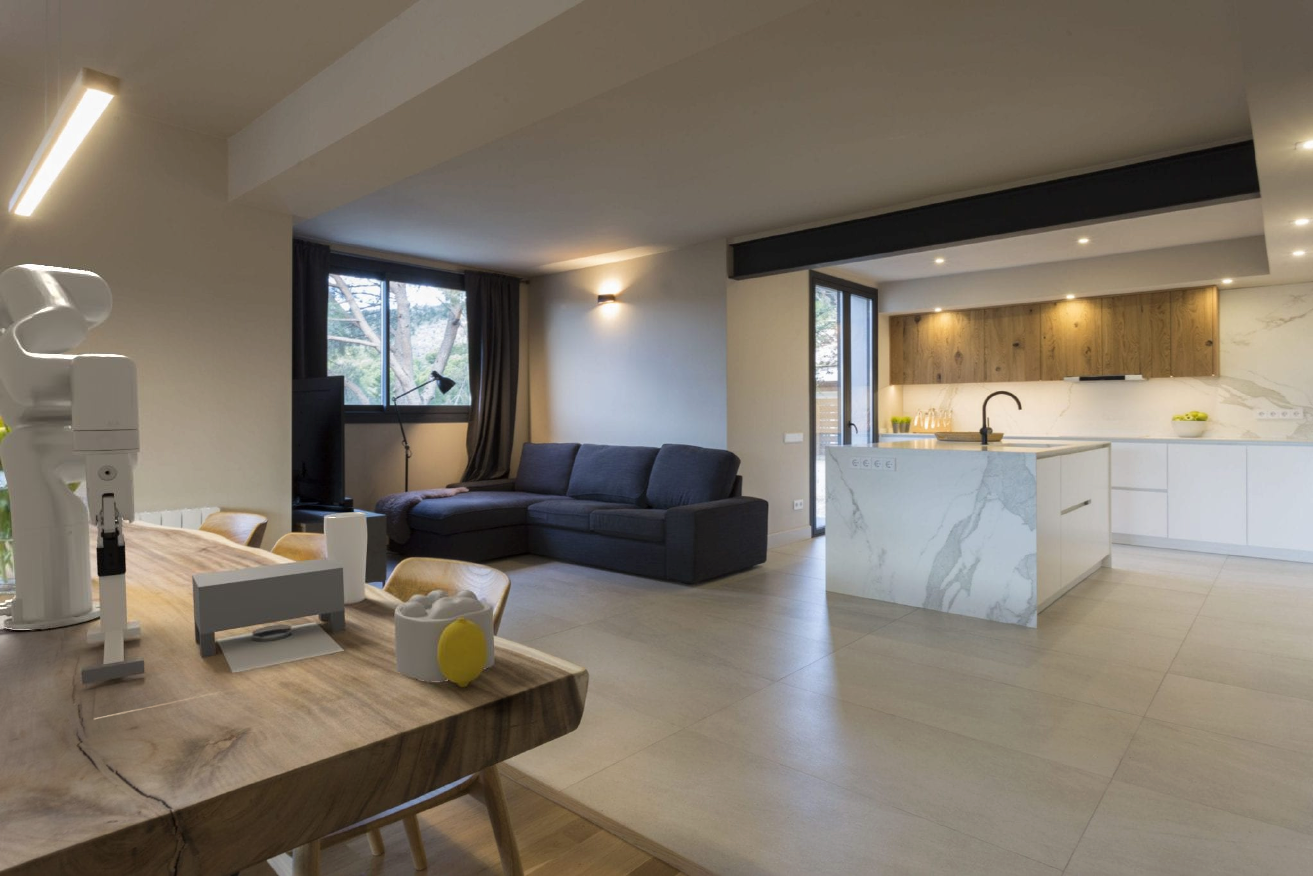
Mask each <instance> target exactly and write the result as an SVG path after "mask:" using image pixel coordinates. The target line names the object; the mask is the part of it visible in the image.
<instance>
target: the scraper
mask: <svg viewBox="0 0 1313 876" xmlns="http://www.w3.org/2000/svg"><path fill="white" fill-rule="evenodd" d="M122 536H123V545H124V541H125V534H123V533H122ZM96 548H98V536H97V539H96ZM126 584H127V583H126V573H125V574H121V575H112V576H103V577H99V576H98V595H99V596H98V598H99V604H100V616H99V619H100V620H99V623H100V625H99V626H94V627H88V628H87V634H86V640H87V641H86V643H87V644H94V643H101V642H104V647H103V648H104V649H103V662H102V663H103V664H98V665H93V666H86V667H81V685H86V684H87V685H88V684H93V683H97V682H98V683H99V682H102V681H108V680H109V681H110V680H114V679H119V678H125V677H131V676H137V675H143V674H145V659H144V657H139V658H133V659H128V660H125V658H124V657H125V654H124V653H125V652H124V651H125V650H124V645H125V644H124V639H126V638H131V637H132V638H133V637H139V636H141V634H142V633H141V631H142V630H141V629H142V628H141V621H140V620H135V621H128V612H127V610H128V609H127V608H128V607H127V586H126Z"/></svg>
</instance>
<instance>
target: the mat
mask: <svg viewBox="0 0 1313 876" xmlns="http://www.w3.org/2000/svg"><path fill="white" fill-rule="evenodd" d="M290 626H291V627H292V635H291V636H289V637H287V638H284V639H280V640H276V641H269V642H256V641H253V638H252V632H251V633H246V634H241V635H233V636H227V637H223V638H217V639H216V640H217V643H218V645H219V647H220V650H221V651H222V653H223V656H224V658H225V660H226V662H227V664H228V666H229V668H230V671H231V673H232V674H237V673H240V672H246V671H251V670H256V669H261V668H266V667H270V666H277V665H281V664H285V663H286V664H287V663H291V662H297V661H301V660H302V661H303V660H307V659H312V658H317V657H321V656H325V655H332V654H335V653H336V654H337V653H342V652H345V650H344V649H343V648H342V647H341V646H340V644H338V642H336V641H335V640H334V639H333V638H332V637H331V636H330V635H329V634H328V633H327V632H326V631H325V630H324V629H323V628H322V627H321V626H320V625H319V624H318V623H317V622H307V623H304V624H298V625H290Z"/></svg>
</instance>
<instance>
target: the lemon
mask: <svg viewBox="0 0 1313 876" xmlns="http://www.w3.org/2000/svg"><path fill="white" fill-rule="evenodd" d="M437 659H438V665H439V668H440V670H441V672H442V674H443V675H444V676H445V677H446V678H447V679H448V680H450V681H449V682H452V683H456V684H457V685H458V686H459V687H460V688H466V687H467V686H468V685H469V683H470V682H472V681H474V680H476V678H478V677H479V676H480V675H481V673H482V672H483V671H484V670H483V669H484V667H485V664H486V661H487V644H486V640H485V636H484V633H483V631H482V630H481V628H480V627H479V626H478V625H476V624H475V623H473V622H471V621H468V620H466V619H465V618H458V620H457V621H455V622H453V623H451V624H450V625H449V626H447V627H446V628H445V630H444V631H443V632H442V634H441V637H440V639H439V643H438V649H437ZM465 686H466V687H465Z"/></svg>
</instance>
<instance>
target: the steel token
mask: <svg viewBox="0 0 1313 876" xmlns="http://www.w3.org/2000/svg"><path fill="white" fill-rule="evenodd" d="M291 626H292V625H289V624H276V625H275V624H274V625H267V626H263V627H259V628H256V629H255V630H253V631H252V632H251V633H252V638H253V641H256V642H269V641H276V640H280V639H284V638H287V637H289V636H291V635H292V627H291Z"/></svg>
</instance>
